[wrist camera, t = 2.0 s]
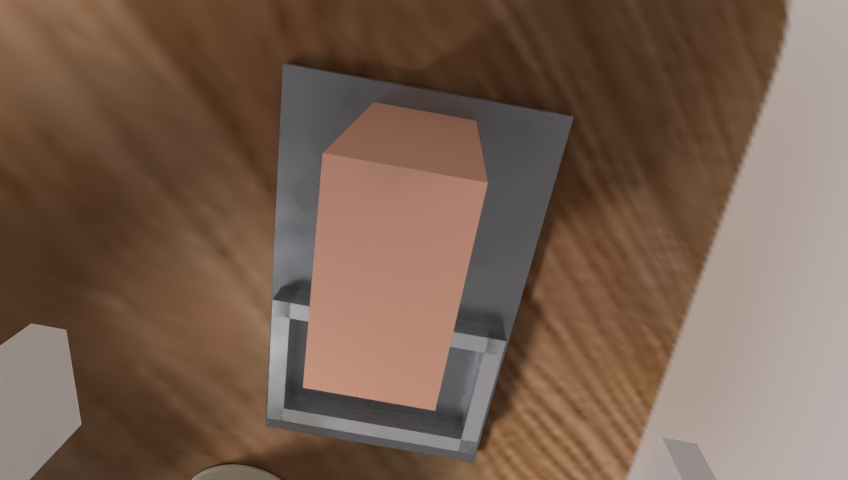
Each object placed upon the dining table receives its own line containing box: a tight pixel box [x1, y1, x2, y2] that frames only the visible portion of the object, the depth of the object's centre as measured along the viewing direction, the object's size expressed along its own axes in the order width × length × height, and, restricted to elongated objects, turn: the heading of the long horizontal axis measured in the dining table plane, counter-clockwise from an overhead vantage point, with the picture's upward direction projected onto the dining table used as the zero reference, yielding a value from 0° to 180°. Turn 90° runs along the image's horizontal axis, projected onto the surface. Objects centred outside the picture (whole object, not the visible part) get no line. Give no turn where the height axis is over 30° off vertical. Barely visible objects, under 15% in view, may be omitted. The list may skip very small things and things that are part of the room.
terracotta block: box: [303, 102, 488, 411], centre depth 21 cm, size 9×5×10 cm, turn 170°
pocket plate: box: [266, 62, 574, 462], centre depth 28 cm, size 23×14×2 cm, turn 170°
